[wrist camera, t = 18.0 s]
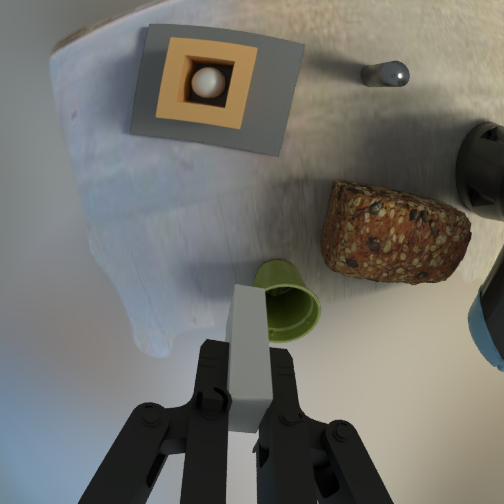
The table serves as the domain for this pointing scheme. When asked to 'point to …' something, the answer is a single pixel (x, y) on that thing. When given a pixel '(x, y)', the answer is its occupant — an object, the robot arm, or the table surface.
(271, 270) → the plant pot
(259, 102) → the board
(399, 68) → the shiny metal cylinder
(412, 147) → the table surface
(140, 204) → the table surface
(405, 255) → the bread
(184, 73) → the collar
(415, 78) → the table surface
